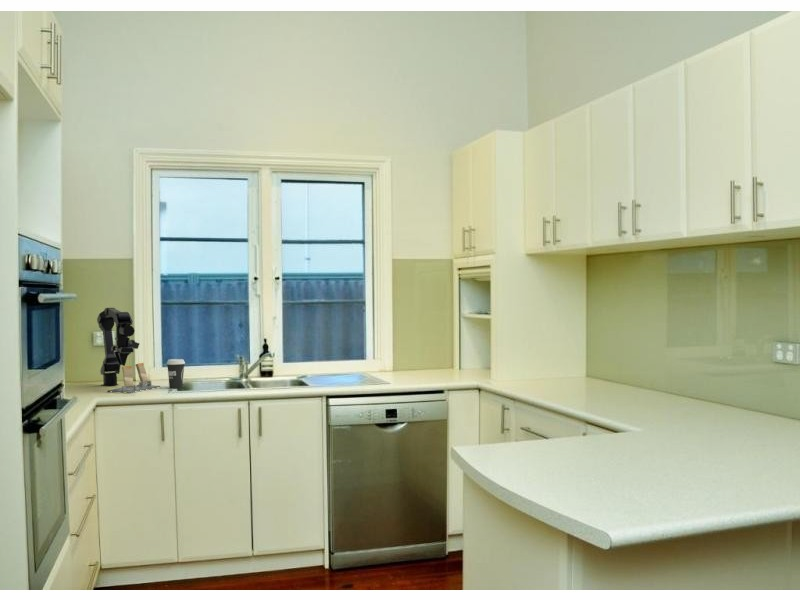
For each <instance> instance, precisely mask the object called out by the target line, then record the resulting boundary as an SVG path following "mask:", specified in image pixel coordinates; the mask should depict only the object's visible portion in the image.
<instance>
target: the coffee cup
mask: <svg viewBox="0 0 800 600" xmlns="http://www.w3.org/2000/svg"><path fill="white" fill-rule="evenodd" d="M185 364H186V362H185V360H184V359H183V358H171V359H168V360H167V362H166V365H167V375H168V384H169V385H168V386H169V389H174V390H178V389H182V388H183V385H184V384H183V383H184V373H185V372H184V371H185Z"/></svg>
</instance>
